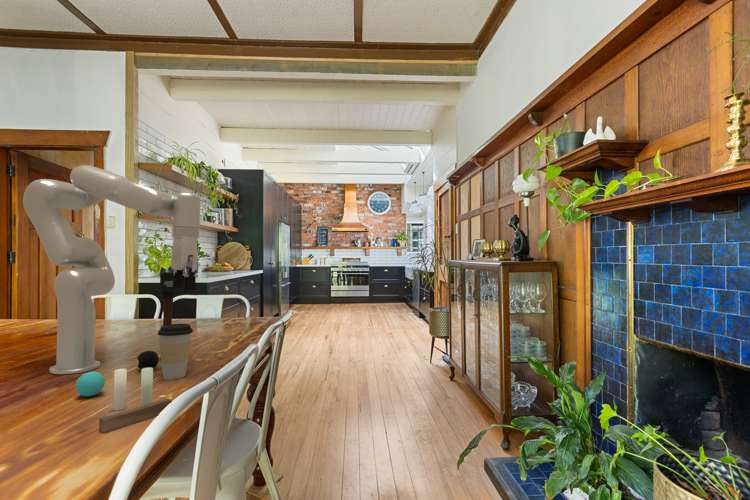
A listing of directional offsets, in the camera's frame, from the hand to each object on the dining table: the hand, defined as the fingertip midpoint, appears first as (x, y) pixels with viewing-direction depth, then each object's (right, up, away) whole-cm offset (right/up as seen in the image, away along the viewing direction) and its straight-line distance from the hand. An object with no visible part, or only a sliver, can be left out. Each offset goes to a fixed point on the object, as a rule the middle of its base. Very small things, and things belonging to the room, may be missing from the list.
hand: (183, 288), depth 121 cm
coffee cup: (0, -26, -5) cm, 26 cm away
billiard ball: (-12, -26, +1) cm, 28 cm away
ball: (-13, -22, -21) cm, 34 cm away
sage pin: (+5, -25, -28) cm, 38 cm away
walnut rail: (+7, -25, -36) cm, 44 cm away
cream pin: (-1, -25, -29) cm, 39 cm away
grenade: (-13, -26, +14) cm, 32 cm away
